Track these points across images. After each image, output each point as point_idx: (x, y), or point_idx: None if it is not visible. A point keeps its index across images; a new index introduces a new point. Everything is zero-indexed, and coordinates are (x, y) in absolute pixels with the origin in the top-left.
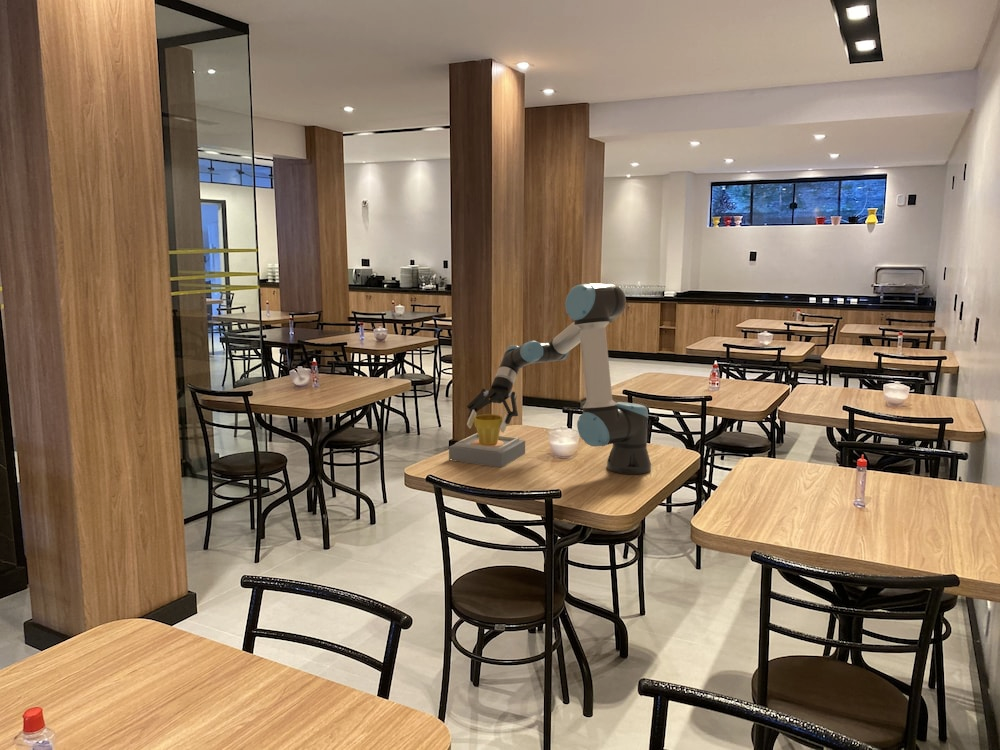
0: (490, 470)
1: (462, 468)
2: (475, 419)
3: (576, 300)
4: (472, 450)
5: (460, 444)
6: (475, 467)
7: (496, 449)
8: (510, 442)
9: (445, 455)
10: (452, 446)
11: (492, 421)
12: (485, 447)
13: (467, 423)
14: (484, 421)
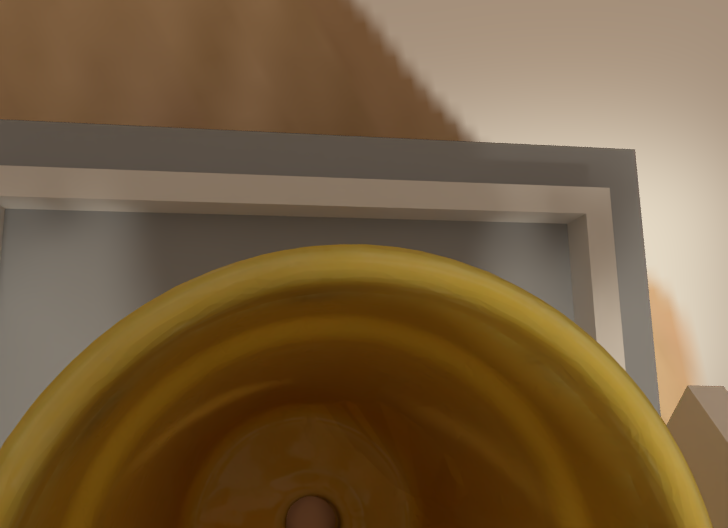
0: (53, 43)
1: (326, 10)
2: (575, 328)
3: None
4: (337, 137)
5: (537, 187)
6: (232, 79)
7: (12, 169)
8: None
9: (679, 329)
10: (609, 174)
11: (98, 337)
12: (184, 175)
13: (719, 399)
14: (294, 252)
